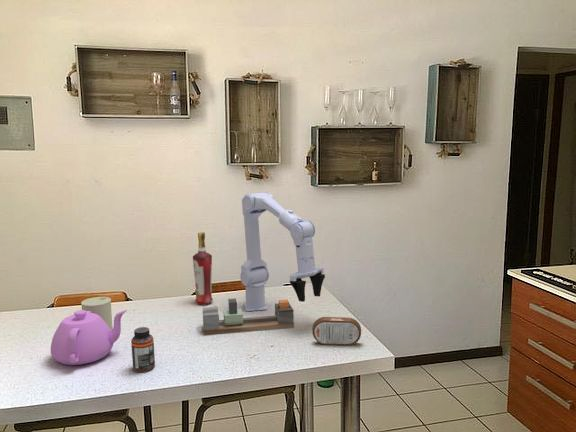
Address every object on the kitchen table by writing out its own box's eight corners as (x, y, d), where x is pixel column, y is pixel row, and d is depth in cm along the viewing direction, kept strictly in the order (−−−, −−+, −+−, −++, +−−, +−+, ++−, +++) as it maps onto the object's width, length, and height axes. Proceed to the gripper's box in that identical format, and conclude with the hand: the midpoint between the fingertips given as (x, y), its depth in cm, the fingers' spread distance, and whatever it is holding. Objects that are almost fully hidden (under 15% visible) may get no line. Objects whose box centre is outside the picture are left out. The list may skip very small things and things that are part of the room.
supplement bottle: (135, 363, 139) (133, 325, 138) (156, 362, 140) (154, 324, 138) (130, 373, 133) (128, 333, 132) (152, 372, 134) (150, 332, 132)
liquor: (191, 303, 193) (188, 233, 189) (206, 299, 198) (204, 230, 194) (201, 307, 187) (198, 235, 183) (217, 303, 192) (214, 232, 188)
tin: (361, 342, 152) (361, 316, 151) (361, 346, 149) (361, 320, 148) (312, 341, 154) (312, 315, 152) (312, 345, 151) (311, 319, 149)
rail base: (203, 325, 168) (202, 307, 168) (288, 318, 174) (288, 300, 173) (203, 335, 160) (203, 316, 159) (293, 327, 165) (293, 308, 165)
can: (119, 331, 164) (117, 297, 162) (98, 341, 155) (95, 305, 154) (98, 327, 168) (96, 294, 166) (77, 337, 159) (74, 301, 158)
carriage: (223, 320, 168) (223, 298, 167) (241, 318, 169) (240, 297, 168) (225, 326, 162) (224, 304, 161) (243, 325, 163) (242, 302, 162)
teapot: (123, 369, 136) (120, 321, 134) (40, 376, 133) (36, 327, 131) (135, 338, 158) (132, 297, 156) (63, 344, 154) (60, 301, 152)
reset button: (278, 309, 170) (278, 300, 169) (287, 309, 170) (287, 299, 170) (280, 312, 167) (280, 302, 166) (289, 312, 168) (288, 302, 167)
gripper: (299, 261, 154) (303, 304, 154) (328, 254, 164) (332, 294, 165) (283, 261, 159) (287, 302, 159) (313, 254, 169) (317, 293, 170)
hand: (309, 298), depth 162 cm, fingers open, 7 cm apart
